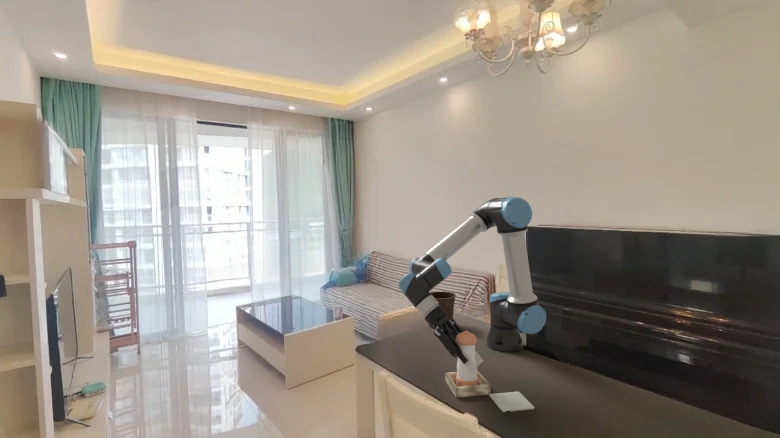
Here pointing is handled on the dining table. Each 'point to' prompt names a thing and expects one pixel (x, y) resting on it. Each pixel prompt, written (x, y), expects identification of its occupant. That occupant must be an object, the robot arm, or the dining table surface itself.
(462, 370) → the pepper shaker
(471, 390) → the birch surround
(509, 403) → the sage pad
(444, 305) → the plant pot
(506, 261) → the robot arm
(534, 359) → the dining table surface
